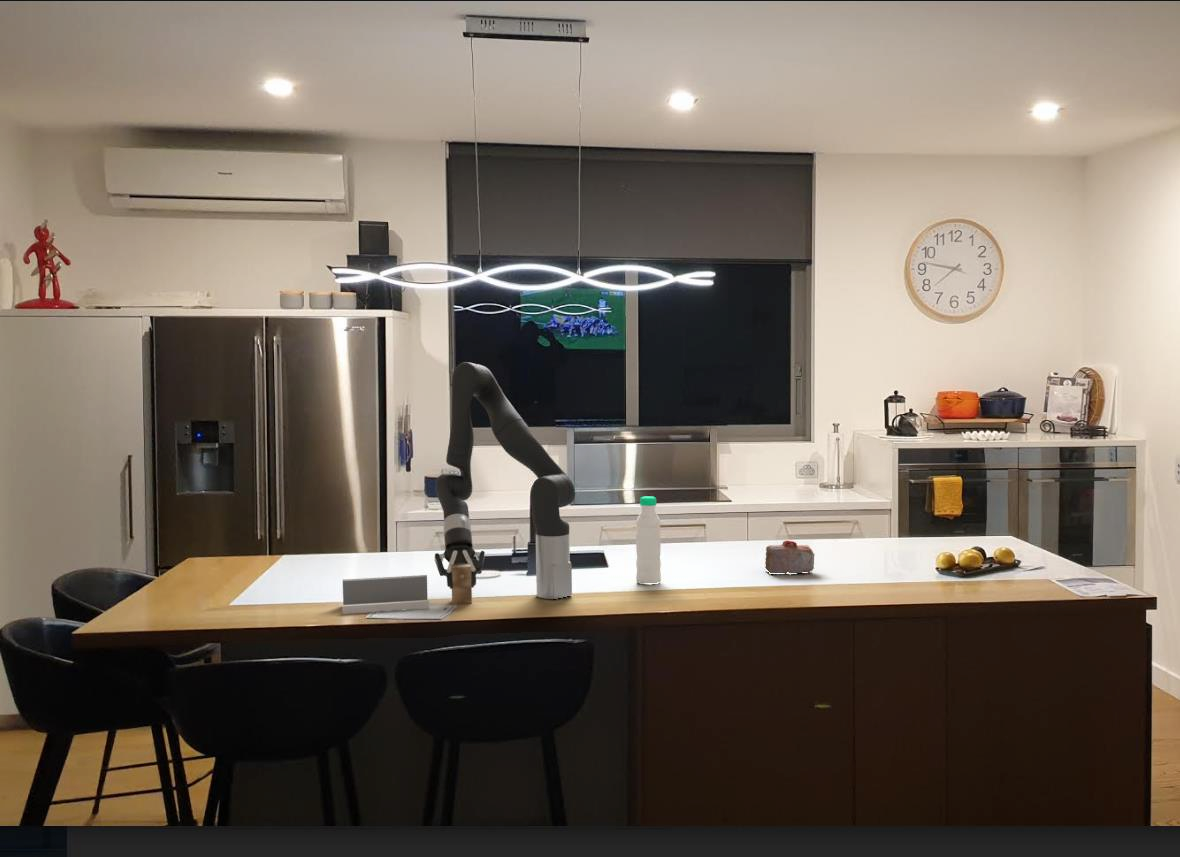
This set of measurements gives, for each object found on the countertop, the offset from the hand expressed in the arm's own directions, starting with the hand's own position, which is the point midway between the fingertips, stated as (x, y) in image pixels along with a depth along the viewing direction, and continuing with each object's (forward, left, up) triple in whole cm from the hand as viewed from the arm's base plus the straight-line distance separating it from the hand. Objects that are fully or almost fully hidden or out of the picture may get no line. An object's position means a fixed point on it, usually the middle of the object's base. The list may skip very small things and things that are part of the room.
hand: (462, 586), depth 264 cm
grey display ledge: (+10, +17, -5) cm, 21 cm away
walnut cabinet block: (+2, -1, -5) cm, 5 cm away
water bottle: (-13, -54, -5) cm, 56 cm away
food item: (-30, -95, -5) cm, 100 cm away
